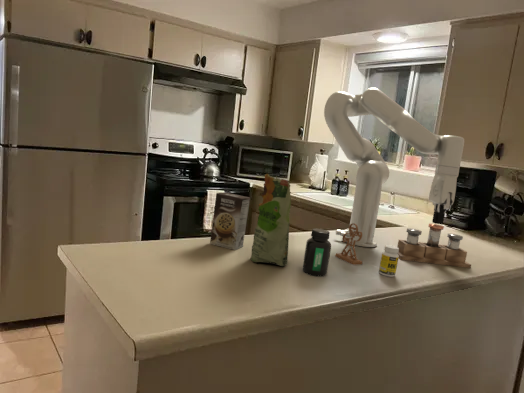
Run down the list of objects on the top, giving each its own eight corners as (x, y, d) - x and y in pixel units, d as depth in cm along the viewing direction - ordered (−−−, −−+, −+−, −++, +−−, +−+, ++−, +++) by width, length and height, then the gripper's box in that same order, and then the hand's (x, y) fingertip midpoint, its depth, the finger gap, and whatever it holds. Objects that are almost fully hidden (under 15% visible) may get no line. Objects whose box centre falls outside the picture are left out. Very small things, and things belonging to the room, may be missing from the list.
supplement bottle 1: (320, 278, 117) (327, 234, 115) (297, 271, 121) (304, 229, 119) (330, 273, 123) (337, 232, 121) (308, 267, 126) (315, 226, 125)
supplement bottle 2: (386, 277, 127) (391, 249, 126) (375, 271, 131) (380, 244, 130) (398, 276, 129) (403, 249, 128) (387, 271, 133) (392, 244, 132)
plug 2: (447, 258, 154) (451, 236, 153) (441, 254, 159) (445, 232, 158) (461, 259, 154) (465, 237, 153) (454, 256, 159) (458, 234, 158)
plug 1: (405, 253, 153) (410, 230, 152) (400, 249, 158) (404, 227, 157) (419, 254, 153) (424, 232, 152) (414, 251, 158) (418, 229, 157)
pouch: (280, 271, 119) (293, 179, 115) (240, 261, 122) (251, 172, 119) (292, 262, 129) (304, 178, 126) (254, 253, 133) (265, 171, 129)
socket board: (400, 259, 150) (403, 244, 150) (390, 251, 160) (393, 237, 160) (470, 268, 152) (473, 253, 151) (456, 259, 162) (459, 246, 161)
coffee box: (208, 244, 136) (215, 193, 134) (218, 240, 142) (224, 191, 140) (235, 250, 133) (242, 198, 131) (244, 246, 139) (250, 196, 137)
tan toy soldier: (334, 256, 143) (340, 220, 141) (343, 255, 145) (349, 220, 143) (352, 264, 136) (359, 226, 134) (362, 264, 138) (368, 227, 136)
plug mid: (428, 248, 153) (432, 225, 152) (422, 244, 158) (426, 222, 157) (442, 249, 153) (446, 227, 152) (435, 246, 158) (440, 224, 157)
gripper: (427, 168, 159) (418, 218, 161) (446, 172, 144) (436, 226, 147) (447, 171, 160) (438, 220, 162) (468, 174, 145) (458, 229, 147)
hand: (437, 223), depth 154 cm, fingers closed
